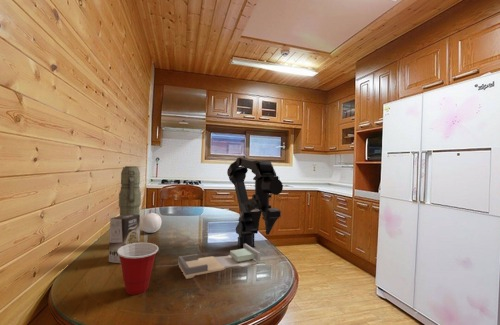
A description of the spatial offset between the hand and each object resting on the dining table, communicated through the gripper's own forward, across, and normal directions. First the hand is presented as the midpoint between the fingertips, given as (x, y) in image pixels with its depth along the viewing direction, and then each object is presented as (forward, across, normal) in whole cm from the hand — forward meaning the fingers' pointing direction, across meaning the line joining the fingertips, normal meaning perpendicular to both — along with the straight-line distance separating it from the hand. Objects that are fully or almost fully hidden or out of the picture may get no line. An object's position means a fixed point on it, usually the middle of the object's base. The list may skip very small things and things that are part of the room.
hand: (261, 231), depth 98 cm
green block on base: (+10, 0, -8) cm, 13 cm away
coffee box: (+10, -21, -48) cm, 53 cm away
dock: (+10, 0, -19) cm, 21 cm away
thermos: (+10, -38, -46) cm, 60 cm away
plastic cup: (+10, +7, -45) cm, 47 cm away
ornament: (+10, -56, -35) cm, 67 cm away
